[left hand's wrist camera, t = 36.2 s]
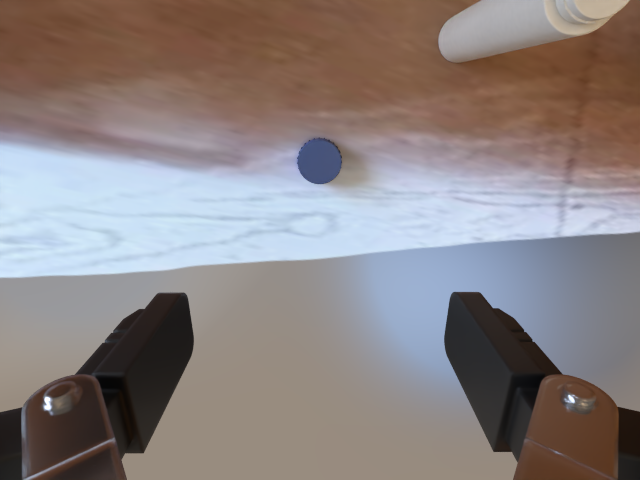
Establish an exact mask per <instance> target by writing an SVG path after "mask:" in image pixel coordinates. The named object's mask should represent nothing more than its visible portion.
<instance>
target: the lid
mask: <svg viewBox="0 0 640 480" xmlns="http://www.w3.org/2000/svg"><path fill="white" fill-rule="evenodd" d="M341 158H342V157H341V155H340V151H339V150H338V147H337V146H335V145H334V143H332V142H331V141H330V140H326V139H325V138H324V139H322V138H318V139H315V138H314V139H313V140H311V141H310V140H309V142H307V143H305V145H304V146H303V147H302V148H301V151H299V156H298V158H297V159H298V163H297V164H298V167H299V168H298V169H299V170H300V172H301V174H302V176H303V177H304V178H305V179H306V180H308V181H309V182H312V183H315V184H324V183H328V182H330V181H332V180H333V179H334V178H335V177H336V176H337V175H338V173H339V171H340V168H341V163H342V161H341Z"/></svg>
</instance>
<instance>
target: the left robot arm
mask: <svg viewBox="0 0 640 480" xmlns="http://www.w3.org/2000/svg"><path fill="white" fill-rule="evenodd" d="M444 343H445V350H446V354H447V357H448V359H449V361H450V363H451V365H452V367H453V369H454V371H455V373H456V375H457V377H458V379H459V382H460V384H461V386H462V388H463V390H464V392H465V394H466V396H467V398H468V400H469V402H470V404H471V406H472V408H473V410H474V412H475V414H476V417H477V419H478V421H479V423H480V425H481V427H482V429H483V431H484V433H485V435H486V437H487V439H488V441H489V443H490V445H491V447H492V449H493V451H494V452H512V453H513V455H514V457H515V458H516V460H517V462H518V464H517V468H516V471H515V475H514V478H513V480H640V412H638V411H634V410H629V409H625V408H621V407H617V406H616V404H615V402H614V401H613V400H612V399H611V397H610V396H609V395H607V394H606V393H605V392H604V391H603V390H601V389H600V388H598V387H597V386H595V385H593V384H591V383H589V382H587V381H585V380H582V379H580V378H577V377H573V376H569V375H563V374H562V373H561V372H560V371H559V370H558V368H557V367H556V366H555V365H554V364H553V363H552V362H551V360H550V359H549V358H548V357H547V356H546V355H545V354H544V352H543V351H542V350H541V349H540V348H539V347H538V345H537V344H536V343H535V342H533V341H532V339H531V337H530V336H529V335H528V334H527V333H526V332H524V329H523V328H522V327H521V326H520V325H519V324H518V322H517V321H516V320H515V319H514V318H513V317H511V316H510V315H508V314H506V313H505V312H503V311H502V310H500V309H498V308H492V307H491V305H490V304H489V303H488V302H487V300H486V299H485V298H484V297H483V295H482V294H481V293H479V292H453V293H452V294H451V297H450V302H449V309H448V315H447V322H446V329H445V336H444ZM193 345H194V336H193V329H192V322H191V316H190V309H189V302H188V298H187V295H186V294H185V293H158V294H157V295H156V296H155V297H154V298H153V299H152V301H151V302H150V303H149V304H148V306H147V307H146V308H145V309H139V310H137V311H136V312H134V313H132V314H131V315H129V316H128V317H126V318H125V319H123V320H122V321H121V323H120V324H119V325H118V326H117V327H116V328H115V329H114V331H113V333H111V334H110V335H109V336H108V337H107V339H106V340H105V343H102V344H101V345H100V347H99V348H98V349H97V350H96V351H95V352H94V353H93V355H92V356H91V357H90V358H89V359H88V360H87V361H86V363H85V364H84V365H83V366H82V367H81V368H80V369H79V371H78V372H77V373H76V374H75V375H71V376H67V377H63V378H60V379H58V380H55V381H53V382H51V383H49V384H47V385H45V386H44V387H42V388H40V389H39V390H37V391H36V392H35V393H34V394H33V395H31V396H30V397H29V399H28V400H27V401H26V402H25V404H24V406H23V407H22V408H18V409H13V410H9V411H4V412H0V480H127V478H126V475H125V471H124V468H123V464H122V461H121V460H122V458H123V456H124V454H125V453H144V451H145V449H146V447H147V445H148V443H149V441H150V439H151V437H152V435H153V433H154V431H155V429H156V427H157V425H158V423H159V421H160V419H161V417H162V415H163V412H164V411H165V409H166V407H167V404H168V402H169V400H170V398H171V396H172V394H173V392H174V390H175V388H176V386H177V384H178V382H179V380H180V378H181V376H182V374H183V372H184V370H185V368H186V366H187V364H188V362H189V360H190V358H191V355H192V351H193Z"/></svg>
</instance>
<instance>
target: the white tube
mask: <svg viewBox="0 0 640 480" xmlns="http://www.w3.org/2000/svg"><path fill="white" fill-rule="evenodd" d="M629 1H630V0H480V1H479V2H477V3H475V4H474V5H472V6H470V7H469V8H467V9H465V10H463V11H462V12H460V13H458V14H457V15H455V16H453V17H451V18H450V19H449V20H448V21H447V22H446V23H445V24H444V25H443V27H442V29H441V31H440V34H439V40H438V43H439V49H440V52H441V54H442V55H443V57H444V58H445V59H447V60H448V61H450V62H453V63H462V62H466V61H470V60H475V59H479V58H484V57H488V56H492V55H497V54H501V53H506V52H510V51H515V50H519V49H523V48H528V47H532V46H537V45H541V44H546V43H550V42H554V41H559V40H563V39H568V38H572V37H576V36H581V35H585V34H588V33H591V32H593V31H595V30H597V29H598V28H600V27H601V26H602V25H604V24H605V23H606V22H607V21H608V20H609V19H610V18H611V17H612V16H613V15H615V14H616V13H617V12H618V11H620V10H621V9H622V8H623V7H624V6H625V5H626V4H627V3H628V2H629Z"/></svg>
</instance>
